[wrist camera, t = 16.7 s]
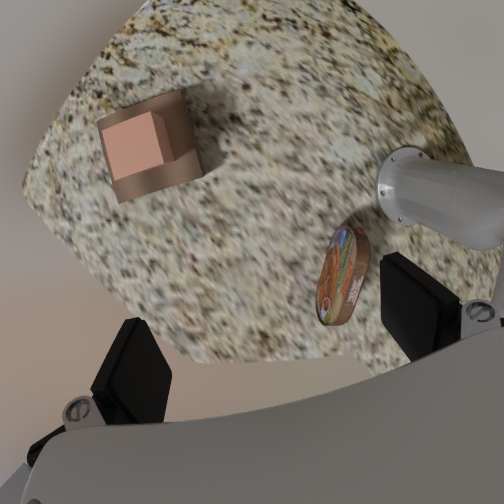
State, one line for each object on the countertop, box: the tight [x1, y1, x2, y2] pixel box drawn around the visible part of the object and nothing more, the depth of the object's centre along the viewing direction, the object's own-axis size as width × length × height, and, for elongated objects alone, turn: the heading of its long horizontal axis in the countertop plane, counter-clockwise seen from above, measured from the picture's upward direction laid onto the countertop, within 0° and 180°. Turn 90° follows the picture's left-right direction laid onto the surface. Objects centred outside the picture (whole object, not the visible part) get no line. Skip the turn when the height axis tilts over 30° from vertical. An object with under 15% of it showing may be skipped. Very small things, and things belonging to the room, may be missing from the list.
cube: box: [102, 111, 175, 180], centre depth 30 cm, size 6×6×6 cm
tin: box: [315, 225, 370, 326], centre depth 40 cm, size 15×3×8 cm, turn 170°
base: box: [96, 89, 205, 204], centre depth 34 cm, size 12×12×3 cm
